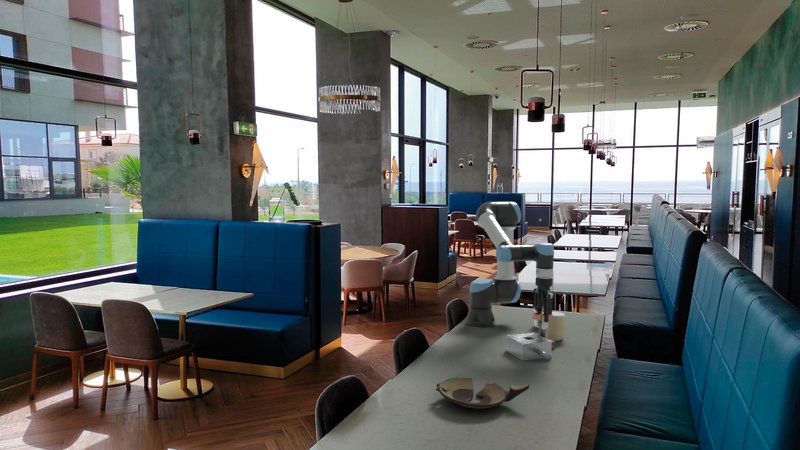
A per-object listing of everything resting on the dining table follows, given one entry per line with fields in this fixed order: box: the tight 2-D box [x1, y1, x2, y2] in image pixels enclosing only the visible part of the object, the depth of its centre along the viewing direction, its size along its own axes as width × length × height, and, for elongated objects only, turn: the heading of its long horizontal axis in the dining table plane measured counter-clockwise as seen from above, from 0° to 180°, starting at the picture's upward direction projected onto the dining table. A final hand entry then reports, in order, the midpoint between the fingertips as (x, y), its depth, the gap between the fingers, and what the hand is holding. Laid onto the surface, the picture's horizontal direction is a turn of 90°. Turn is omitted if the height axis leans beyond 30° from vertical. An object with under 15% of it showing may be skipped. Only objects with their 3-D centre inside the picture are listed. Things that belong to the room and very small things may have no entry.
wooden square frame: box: [545, 336, 556, 349], centre depth 246 cm, size 8×8×3 cm
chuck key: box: [532, 312, 553, 338], centre depth 246 cm, size 3×8×12 cm, turn 107°
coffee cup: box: [545, 311, 566, 341], centre depth 259 cm, size 9×9×12 cm
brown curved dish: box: [435, 376, 530, 410], centre depth 181 cm, size 22×30×8 cm
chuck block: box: [505, 332, 553, 362], centre depth 231 cm, size 23×14×7 cm, turn 17°
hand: (542, 327), depth 246 cm, fingers closed on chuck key, 3 cm apart
